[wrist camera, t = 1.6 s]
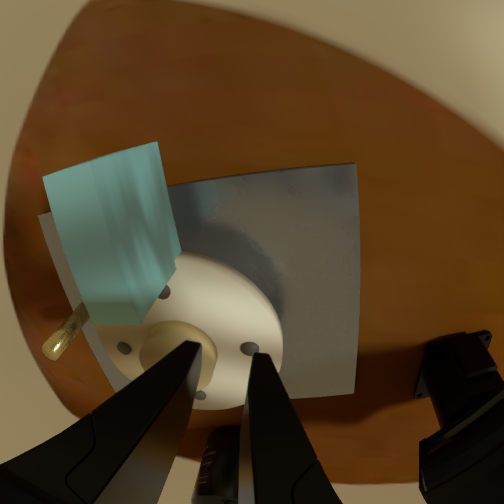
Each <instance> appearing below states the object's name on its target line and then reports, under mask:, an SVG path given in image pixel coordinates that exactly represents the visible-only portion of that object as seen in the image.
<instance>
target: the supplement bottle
mask: <svg viewBox="0 0 504 504" xmlns="http://www.w3.org/2000/svg"><path fill="white" fill-rule="evenodd" d="M240 429H241V427H240V426H227V427H222V428H219V429H216V430H215V431H213V432H212V433H211V434H210V435H209V437H208V439H207V443H206V446H205V450H204V453H203V457H202V461H201V464H200V468H199V472H198V476H197V479H196V483H195V487H194V490H193V494H192V498H191V504H238V494H239V452H240Z"/></svg>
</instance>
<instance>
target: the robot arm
mask: <svg viewBox="0 0 504 504" xmlns="http://www.w3.org/2000/svg"><path fill="white" fill-rule="evenodd" d="M491 338H492V334H491V333H490V331H484V332H480V333H476V334H471V335H467V336H462V337H457V338H452V339H447V340H442V341H437V342H432V343H429V344H428V345H427V346H426V348H425V352H424V356H423V360H422V364H421V368H420V372H419V376H418V380H417V383H416V387H415V390H414V397H415V398H416V399H420V398H425V397H429V396H430V399H431V401H432V404H433V407H434V410H435V413H436V416H437V419H438V422H439V425H440V428H441V429H440V430H439V431H437V432H436V433H434V434H433V435H431V436H430V437H428V438H424V439H423V440H421V441H420V442H419V490H420V491H421V494H422V496H423V497H424V499H425V501H426V503H427V504H504V381H503V380H502V378H501V376H500V374H499V372H498V371H497V368H498V367H497V365H496V363H495V362H494V360H493V358H492V357H491V355H490V353H489V352H488V347H489V344H490V341H491ZM430 349H431V350H430ZM201 368H202V344H201V343H200V342H196V341H191V340H185V341H184V342H182V343H181V344H180V345H178V346H177V347H176V348H175V349H173V350H172V351H171V352H169V353H168V354H167V355H165V356H164V357H163V358H162V359H160V360H159V361H158V362H156V363H155V364H154V365H152V366H151V367H150V368H149V369H147V370H146V371H145V372H143V373H142V374H141V375H139V376H138V377H137V378H135V379H134V380H133V381H131V382H130V383H129V384H127V385H126V386H125V387H123V388H122V389H121V390H119V391H118V392H117V393H115V394H114V395H113V396H111V397H110V398H109V399H107V400H106V401H105V402H103V403H102V404H101V405H99V406H98V407H97V408H95V409H94V410H93V411H91V413H88V414H87V415H86V416H84V417H83V418H81V419H80V420H79V421H77V422H76V423H74V424H73V425H71V426H70V427H69V428H67V429H65V430H64V431H62V432H61V433H59V434H57V435H56V436H54V437H52V438H51V439H49V440H47V441H45V442H44V443H42V444H40V445H38V446H36V447H34V448H32V449H30V450H29V451H26V452H24V453H23V454H21V455H19V456H17V457H15V458H13V459H11V460H9V461H7V462H4V463H2V464H0V504H157V502H158V500H159V497H160V495H161V492H162V490H163V487H164V484H165V482H166V479H167V477H168V474H169V472H170V469H171V467H172V464H173V461H174V459H175V456H176V454H177V451H178V449H179V446H180V443H181V441H182V438H183V436H184V433H185V431H186V428H187V425H188V422H189V419H190V415H191V411H192V407H193V403H194V398H195V394H196V390H197V386H198V382H199V378H200V374H201ZM238 504H343V503H342V502H341V500H340V499H339V497H338V496H337V494H336V492H335V491H334V489H333V487H332V485H331V483H330V482H329V480H328V478H327V476H326V474H325V472H324V470H323V468H322V466H321V464H320V462H319V460H317V456H316V454H315V451H314V449H313V447H312V445H311V443H310V441H309V439H308V437H307V434H306V432H305V430H304V428H303V426H302V424H301V422H300V419H299V417H298V415H297V413H296V411H295V409H294V407H293V404H292V402H291V400H290V398H289V396H288V393H287V391H286V389H285V387H284V385H283V382H282V380H281V378H280V376H279V374H278V371H277V369H276V367H275V365H274V363H273V360H272V358H271V356H270V355H269V354H268V353H261V352H254V353H253V355H252V361H251V367H250V373H249V379H248V385H247V392H246V398H245V404H244V410H243V416H242V422H241V429H240V452H239V494H238Z"/></svg>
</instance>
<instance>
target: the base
mask: <svg viewBox="0 0 504 504" xmlns="http://www.w3.org/2000/svg"><path fill="white" fill-rule="evenodd" d="M166 187H167V191H168V196H169V200H170V205H171V209H172V213H173V218H174V222H175V226H176V230H177V235H178V239H179V243H180V247H181V251H188V252H193V253H197V254H202V255H205V256H208V257H211V258H214V259H216V260H219V261H221V262H223V263H225V264H227V265H229V266H231V267H232V268H234V269H236V270H237V271H239V272H241V273H242V274H243V275H245V276H246V277H247V278H248V279H250V280H251V281H252V282H253V283H254V284H255V285H256V286H257V287H258V288H259V289H260V290H261V291H262V292H263V293H264V294H265V296H266V297H267V298H268V299H269V301H270V302H271V304H272V306H273V307H274V309H275V311H276V313H277V315H278V318H279V320H280V323H281V328H282V332H283V356H282V363H281V368H280V371H279V373H278V374H279V376H280V378H281V380H282V382H283V385H284V387H285V389H286V391H287V393H288V396H289V398H290V399H296V398H312V397H324V396H335V395H345V394H354V387H355V376H356V363H357V349H358V332H359V309H360V222H359V199H358V182H357V167H356V164H355V163H341V164H328V165H317V166H306V167H296V168H287V169H278V170H269V171H261V172H253V173H245V174H238V175H231V176H224V177H217V178H210V179H204V180H197V181H191V182H185V183H179V184H173V185H168V186H166ZM38 218H39V221H40V224H41V228H42V231H43V234H44V237H45V240H46V243H47V246H48V249H49V252H50V254H51V257H52V260H53V263H54V265H55V268H56V271H57V273H58V276H59V278H60V281H61V283H62V286H63V288H64V291H65V293H66V295H67V298H68V300H69V302H70V305H71V307H72V309H73V312H72V313H71V314H70V315H69V316H68V317H67V318H66V320H65V321H64V322H63V323H62V324H61V325H60V326H59V327H58V329H57V330H56V331H55V332H54V333H53V334H52V335H51V336H50V338H49V339H48V340H47V341H46V342H45V343H44V345H43V346H42V350H43V352H44V354H45V355H46V356H47V357H48V358H49V359H51V360H54V361H55V360H57V359H58V357H59V356H60V355H61V353H62V352H63V351H64V350H65V348H66V347H67V346H68V345H69V343H70V342H71V341H72V340H73V338H74V337H75V336H76V335H77V333H78V332H79V331H80V330H81V329H82V331H83V333H84V335H85V337H86V339H87V341H88V343H89V345H90V347H91V349H92V351H93V353H94V355H95V357H96V358H97V360H98V362H99V364H100V366H101V368H102V369H103V371H104V373H105V375H106V377H107V378H108V380H109V382H110V384H111V385H112V387H113V389H114V390H115V392H118V391H119V390H121V389H122V388H123V387H125V386H126V385H127V384H129V383H130V382H131V380H129V379H128V378H127V377H126V376H125V375H124V374H123V373H122V372H121V371H120V370H119V369H118V368H117V367H116V365H115V364H114V363H113V362H112V360H111V359H110V357H109V356H108V354H107V353H106V351H105V349H104V347H103V345H102V343H101V340H100V338H99V335H98V331H97V327H96V324H93V322H92V320H91V318H90V316H89V313H88V311H87V309H86V306H85V304H84V302H83V299H82V297H81V294H80V292H79V289H78V287H77V284H76V282H75V279H74V277H73V274H72V271H71V269H70V266H69V263H68V261H67V258H66V255H65V252H64V249H63V246H62V243H61V240H60V237H59V234H58V231H57V228H56V225H55V221H54V218H53V215H52V211H48V212H44V213H41V214H40V215H38Z"/></svg>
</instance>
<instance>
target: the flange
mask: <svg viewBox="0 0 504 504" xmlns="http://www.w3.org/2000/svg"><path fill="white" fill-rule="evenodd" d="M43 181H44V185H45V189H46V193H47V197H48V201H49V204H50V208H51V211H52V215H53V218H54V221H55V225H56V228H57V231H58V234H59V237H60V240H61V243H62V246H63V249H64V252H65V255H66V258H67V261H68V263H69V266H70V269H71V271H72V274H73V277H74V279H75V282H76V284H77V287H78V289H79V292H80V294H81V297H82V299H83V302H84V304H85V306H86V309H87V311H88V313H89V316H90V318H91V320H92V322H93V324H96V327H97V331H98V335H99V338H100V340H101V343H102V345H103V347H104V349H105V351H106V353H107V354H108V356H109V357H110V359H111V360H112V362H113V363H114V364H115V365H116V367H117V368H118V369H119V370H120V371H121V372H122V373H123V374H124V375H125V376H126V377H127V378H128V379H129V380H131V381H133V380H134V379H135V378H137V377H138V376H139V375H141V374H142V373H143V372H145V371H146V370H147V369H149V368H150V367H151V366H152V365H154V364H155V363H156V362H158V361H159V360H160V359H162V358H163V357H164V356H165V355H167V354H168V353H169V352H171V351H172V350H173V349H175V348H176V347H177V346H178V345H180V344H181V343H182V342H184V341H185V340H191V341H196V342H200V343H201V344H202V368H201V374H200V378H199V382H198V386H197V390H196V394H195V398H194V403H193V407H192V408H193V409H202V410H220V409H228V408H233V407H237V406H240V405H243V404H245V398H246V392H247V385H248V379H249V373H250V367H251V361H252V355H253V353H254V352H261V353H268V354H269V355H270V356H271V358H272V360H273V363H274V365H275V367H276V369H277V371H278V373H279V371H280V368H281V363H282V356H283V332H282V328H281V323H280V320H279V318H278V315H277V313H276V311H275V309H274V307H273V306H272V304H271V302H270V301H269V299H268V298H267V297H266V296H265V294H264V293H263V292H262V291H261V290H260V289H259V288H258V287H257V286H256V285H255V284H254V283H253V282H252V281H251V280H250V279H248V278H247V277H246V276H245V275H243V274H242V273H241V272H239V271H237V270H236V269H234V268H232V267H231V266H229V265H227V264H225V263H223V262H221V261H219V260H216V259H214V258H211V257H208V256H205V255H202V254H197V253H193V252H188V251H181V247H180V243H179V239H178V235H177V230H176V226H175V222H174V218H173V213H172V209H171V205H170V200H169V196H168V191H167V187H166V182H165V177H164V173H163V168H162V163H161V158H160V153H159V148H158V143H157V142H153V143H149V144H145V145H141V146H137V147H133V148H129V149H125V150H121V151H118V152H114V153H111V154H108V155H104V156H101V157H98V158H95V159H92V160H89V161H86V162H83V163H80V164H77V165H74V166H71V167H68V168H65V169H63V170H60V171H57V172H54V173H52V174H49V175H46V176H44V177H43Z"/></svg>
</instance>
